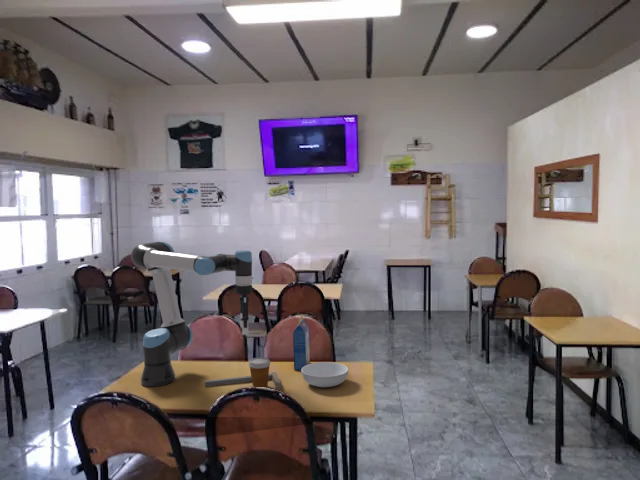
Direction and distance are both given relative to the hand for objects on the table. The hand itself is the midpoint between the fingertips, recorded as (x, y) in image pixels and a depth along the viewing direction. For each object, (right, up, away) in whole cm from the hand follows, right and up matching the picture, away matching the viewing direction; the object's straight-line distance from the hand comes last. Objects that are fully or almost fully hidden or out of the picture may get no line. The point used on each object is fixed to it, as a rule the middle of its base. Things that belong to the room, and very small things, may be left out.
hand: (244, 330), depth 221 cm
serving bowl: (+37, -23, -6) cm, 44 cm away
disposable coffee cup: (+8, -24, -8) cm, 26 cm away
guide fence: (0, -24, -7) cm, 25 cm away
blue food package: (+26, -22, +19) cm, 39 cm away
